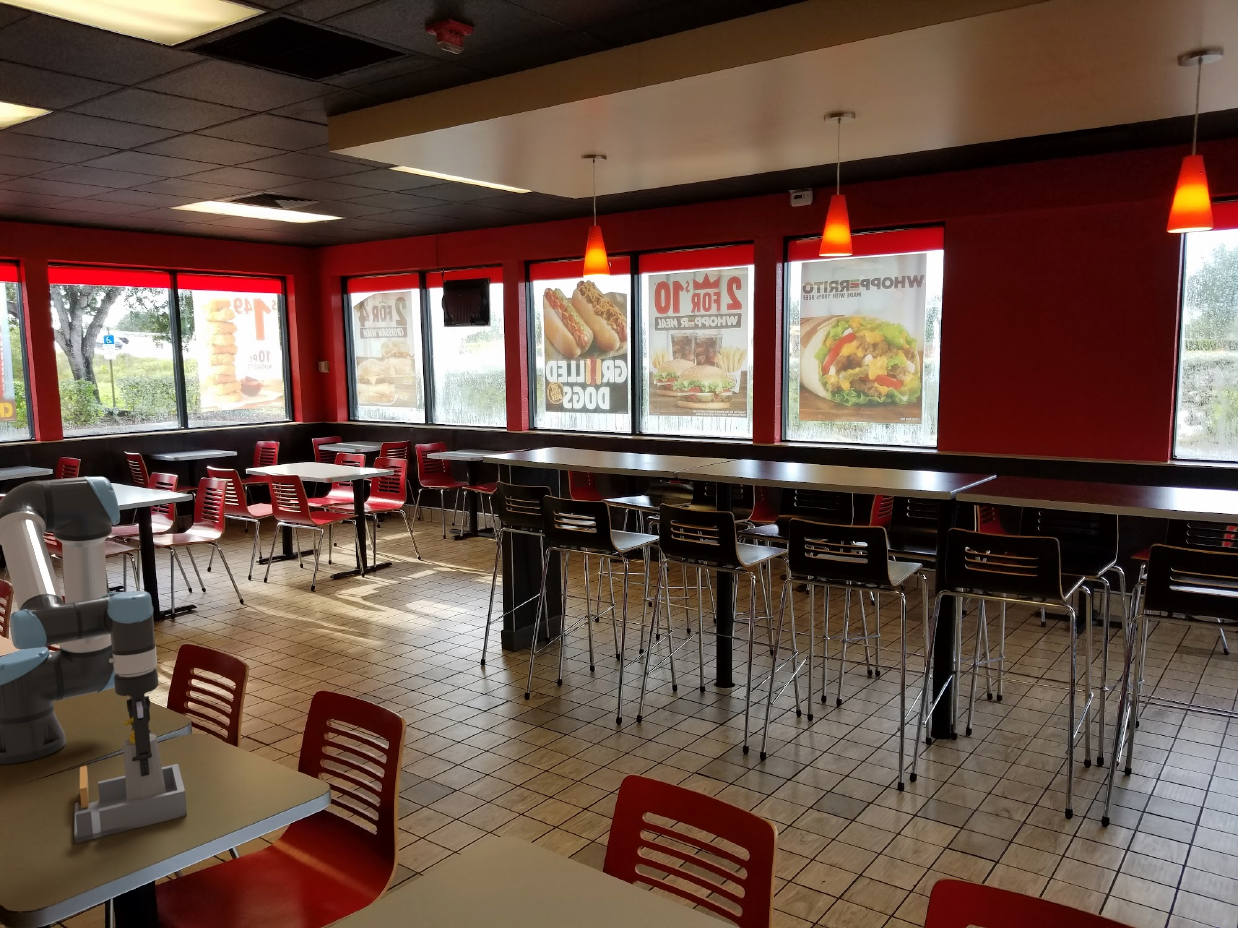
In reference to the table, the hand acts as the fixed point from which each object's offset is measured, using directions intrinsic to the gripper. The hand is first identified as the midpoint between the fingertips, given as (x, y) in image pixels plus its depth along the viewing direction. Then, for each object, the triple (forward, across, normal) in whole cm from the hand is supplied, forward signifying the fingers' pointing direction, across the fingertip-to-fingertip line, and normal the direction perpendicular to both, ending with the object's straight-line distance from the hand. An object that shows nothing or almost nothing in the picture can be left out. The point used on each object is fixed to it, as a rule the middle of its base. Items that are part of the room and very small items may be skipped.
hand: (144, 779), depth 175 cm
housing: (+6, 0, -3) cm, 7 cm away
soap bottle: (+4, +3, 0) cm, 5 cm away
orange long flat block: (+5, -11, -10) cm, 16 cm away
